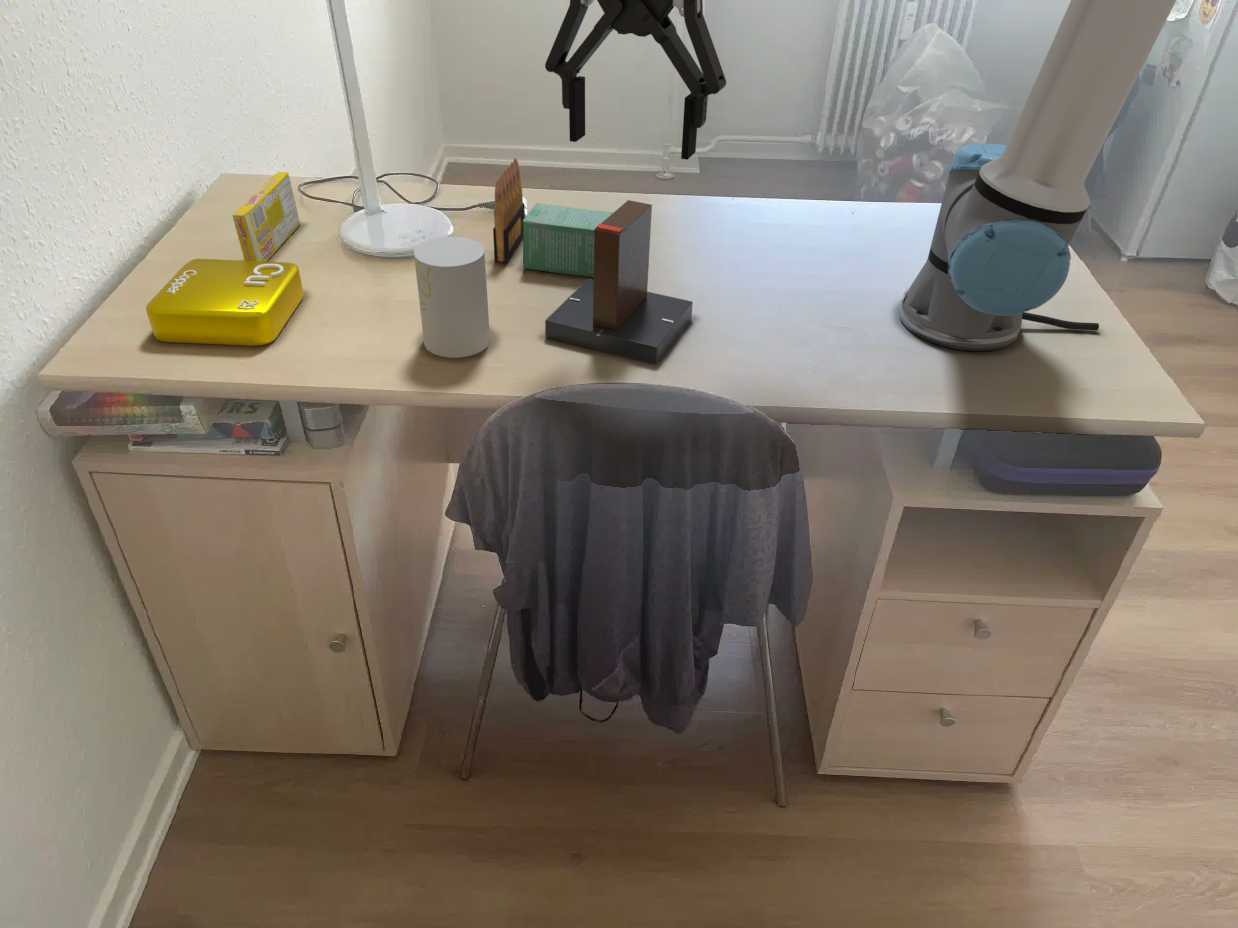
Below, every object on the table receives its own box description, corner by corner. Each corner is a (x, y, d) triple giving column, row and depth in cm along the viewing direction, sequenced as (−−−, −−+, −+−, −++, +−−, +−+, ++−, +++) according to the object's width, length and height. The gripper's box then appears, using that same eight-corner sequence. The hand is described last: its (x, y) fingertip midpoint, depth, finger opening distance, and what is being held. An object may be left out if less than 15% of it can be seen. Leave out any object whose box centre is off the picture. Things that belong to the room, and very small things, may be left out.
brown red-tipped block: (624, 291, 121) (628, 198, 113) (647, 296, 120) (652, 202, 113) (592, 324, 114) (594, 227, 106) (616, 330, 113) (619, 232, 105)
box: (615, 281, 129) (617, 230, 125) (522, 271, 131) (520, 220, 126) (625, 260, 135) (627, 210, 130) (535, 250, 137) (534, 201, 132)
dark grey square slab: (693, 316, 122) (694, 298, 120) (654, 367, 111) (655, 348, 110) (589, 293, 126) (590, 275, 124) (543, 340, 116) (542, 321, 114)
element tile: (198, 286, 124) (189, 253, 121) (308, 291, 124) (302, 258, 121) (148, 342, 112) (137, 307, 109) (271, 348, 112) (262, 313, 109)
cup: (431, 323, 118) (421, 235, 111) (494, 326, 118) (489, 238, 111) (418, 356, 112) (407, 265, 104) (484, 359, 112) (478, 268, 104)
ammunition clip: (506, 264, 132) (502, 182, 125) (494, 263, 133) (489, 181, 125) (525, 234, 141) (523, 156, 133) (514, 233, 141) (510, 155, 134)
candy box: (287, 224, 141) (277, 171, 136) (301, 225, 141) (291, 171, 136) (244, 270, 128) (231, 213, 123) (259, 271, 128) (246, 214, 123)
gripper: (508, -72, 93) (518, 140, 105) (747, -52, 85) (726, 174, 98) (542, -81, 98) (547, 122, 111) (768, -62, 91) (746, 152, 104)
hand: (631, 147), depth 105 cm, fingers open, 13 cm apart
